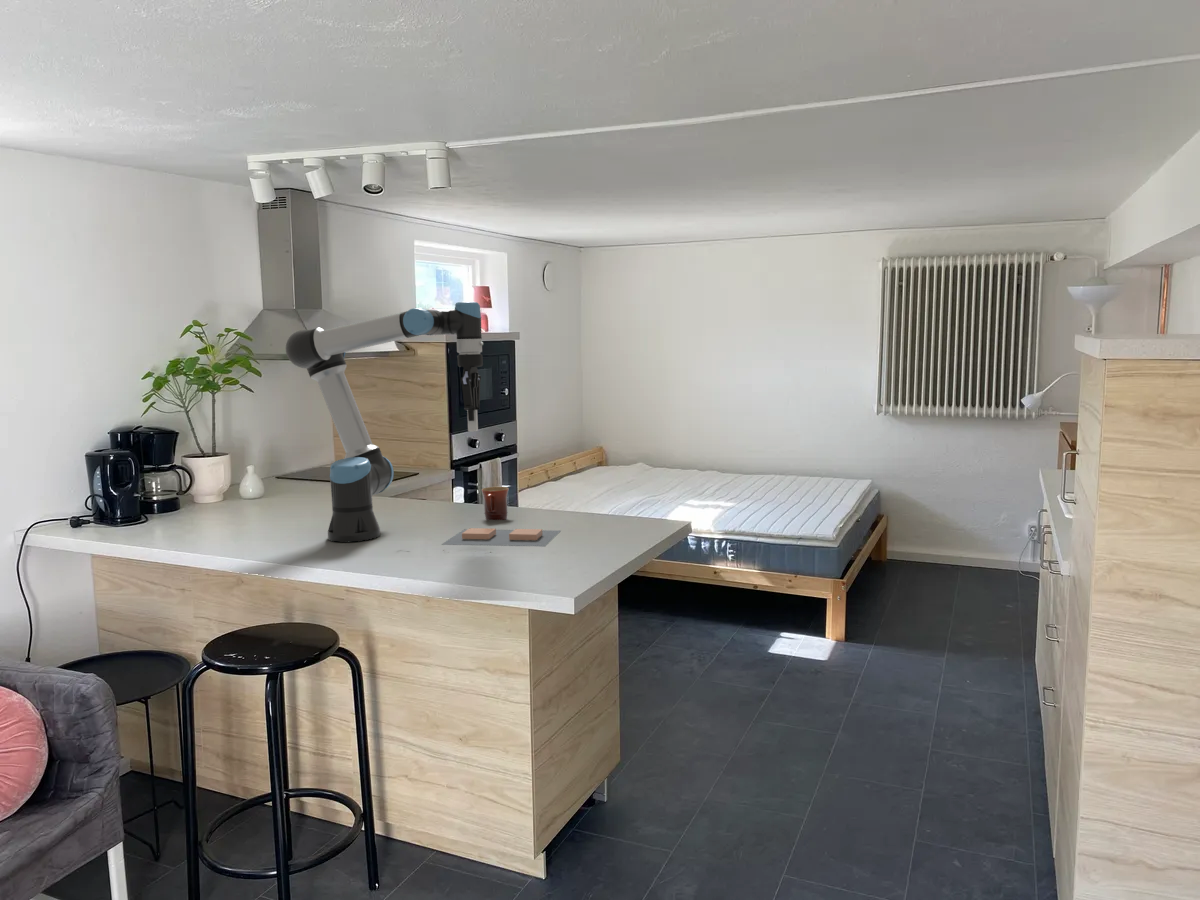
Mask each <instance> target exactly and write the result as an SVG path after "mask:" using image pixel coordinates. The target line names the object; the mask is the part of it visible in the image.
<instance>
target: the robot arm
mask: <svg viewBox="0 0 1200 900" xmlns="http://www.w3.org/2000/svg"><path fill="white" fill-rule="evenodd" d="M424 335H425V336H437V335H440V336H441V335H456V352H457V353H458V355H457V366H458V367H459V368H463V369H462V370H463V372H462V377H460V379H459V380H460V384H461V390H462V400H463V410H464V411H467V412H466V413H467V415H466V417H467V432H471V433H472V432H473V433H474V432H475V433H477V432H478V431H479V422H478V419H479V418H478V410H481V407H480V405H481V403H480V401H481V400H480V399H481V383H482V382H481V381H482V376H481V375H479V370H478V368H479V367H483V365H484V363H483V361H484V359H483V354H481V353H483V346H484V342H483V341H482V313H481V306H480V303H478V301H459V302H455V304H454V308H450V309H436V308H435V309H434V308H424V307H421V306H420V307H413V308H410V309H409V310H406V311H402V312H398V313H394V314H393V313H392V314H390V315H383V316H380V317H376V318H371V319H367V320H362V321H358V322H353V323H351V324H350V323H349V324H347V325H346V324H345V325H342V326H341V325H340V326H337V327H333V328H328V329H323V328H321V327H317V328H313V329H312V328H311V329H301V330H296V331H295V332H293V333H292V334H291V335H290V336H289V337H288V339H287V341H286V342H285V354H286V356H287V358H288V360H289V361H290V363H292V364H293V365H294V366H295V367H298V368H301V369H306V370H307V373H308V375H309V378H310V379H311V380H313V381H315V382H317V384H318V387H319V389H320V392H321V394H322V397H323V400H324V402H325V405H326V406H327V409H328V412H329V414H330V418H331V419H332V422H333V425H334V427H335V430H336V431H337V435H338V438H339V440H340V441H341V444H342V447H343V450H344V452H345V455H344V458H342V459H338V460H335V461H333V463H331V464H330V467H329V468H330V469H329V480H330V492H331V493H330V494H331V506H332V507H331V509H332V515H331V518H330V522H329V526H328V530H327V540H328V539H329V540H328V541H330V540H332V541H331V542H334V541H340V542H339V543H349V542H348V541H358V542H363V541H362V540H365V541H369V540H368V539H370V540H373V539H372V538H374V539H376V537H377V538H379V537H380V536H381V527H380V526H379V522H378V520H377V518H376V515H375V512H374V510H373V509H374V508H373V507H374V506H373V496H374V495H377V494H381V493H383V492H384V491H385V490H386V489H388V488H389V487H390V485H392V481H393V479H394V474H395V473H394V472H395V471H394V466H393V464H392V462H391V461H390V460H389V459H388V458H387V457H385V456H383V454H382V451H381V448H380V446H378V445H375V444H374V443H373V442H372V439H371V436H370V434H369V431H368V429H367V427H366V424H365V422H364V419H363V416H362V414H361V412H360V409H359V407H358V404H357V401H356V399H355V396H354V394H353V390H352V388H351V387H350V384H349V381H348V378H347V377H346V374H345V371H346V369H347V366H348V365H347V363H346V360H345V355H346V353H347V352H352V351H356V350H361V349H365V348H369V347H373V346H379V345H382V344H387V343H391V342H396V341H400V340H405V339H409V338H414V337H419V336H424ZM378 536H379V537H378Z"/></svg>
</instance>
